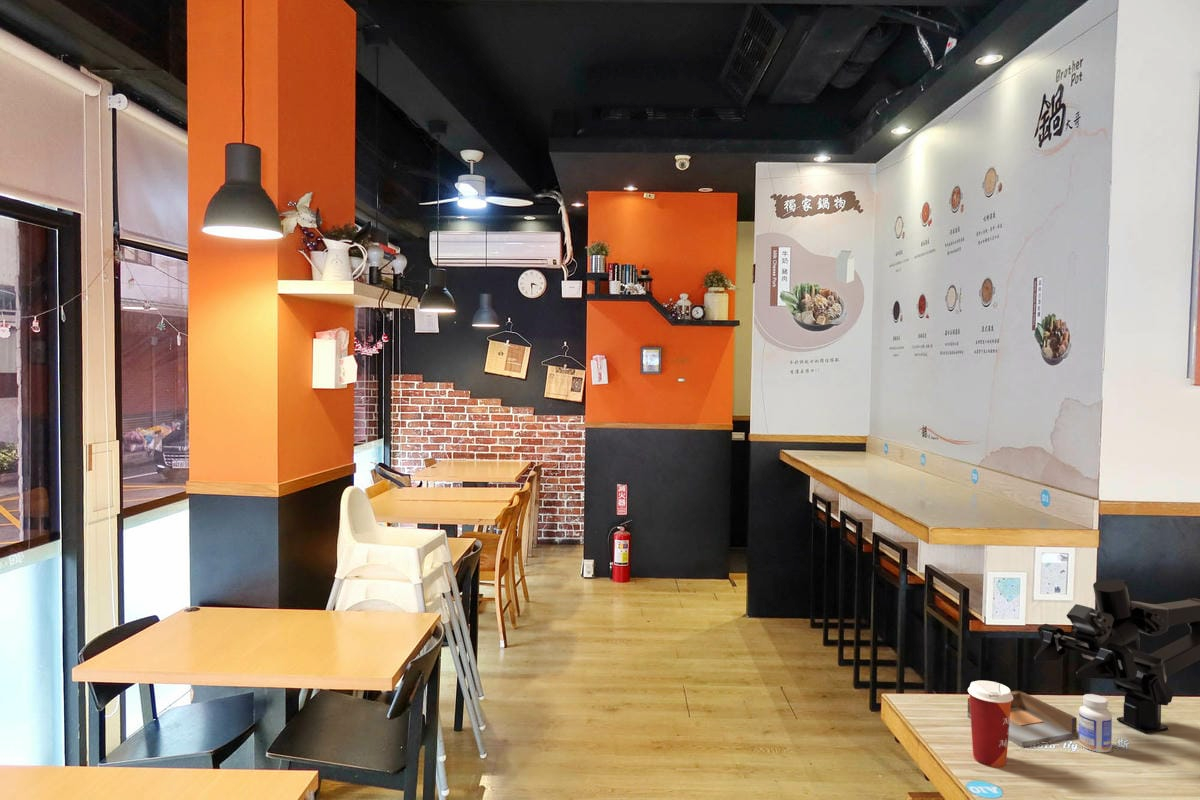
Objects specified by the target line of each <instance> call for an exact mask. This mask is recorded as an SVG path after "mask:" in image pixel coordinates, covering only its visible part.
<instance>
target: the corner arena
mask: <svg viewBox="0 0 1200 800" xmlns="http://www.w3.org/2000/svg"><path fill="white" fill-rule="evenodd" d="M1011 694H1012V696H1013V700H1012V701H1011V710H1010V723H1009V736H1008V741H1010V742H1012V743H1014V744H1015V743H1016V744H1015V745H1017V746H1019V745H1020V746H1019V747H1020V748H1024V747H1023V746H1026V747H1029V746H1028V745H1031V746H1034V744H1037V745H1039V744H1038V743H1042V742H1048V743H1050V742H1049V741H1053V742H1058V741H1057V740H1059V741H1064V740H1068V738H1070V739H1075V738H1077V733H1078V731H1077V729H1078V728H1077V727H1078V726H1077V723H1078V721H1077V720H1078V718H1077V717H1076V716H1074V715H1073V714H1070V713H1068V712H1066V711H1064V710H1061V709H1060V708H1057V707H1055V706H1053V705H1050V704H1049V703H1046V702H1045V701H1043V700H1040V699H1038V698H1036V697H1034V696H1032V695H1029V694H1027V693H1026V692H1023V691H1021V690H1014V691H1011ZM967 718H969V719H971V711H970V697H967ZM1074 737H1075V738H1074ZM1063 739H1064V740H1063ZM1042 744H1043V743H1042Z"/></svg>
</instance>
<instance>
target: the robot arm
mask: <svg viewBox="0 0 1200 800" xmlns="http://www.w3.org/2000/svg"><path fill="white" fill-rule="evenodd" d="M1092 588H1093V593H1094V596H1095V601H1096V607H1097V610H1096V609H1094V608H1093V607H1089V606H1085V605H1082V604H1077V603H1075V604H1074V605H1073V607H1072V608H1071V609H1070V610H1069V611H1068V613H1066V617H1067V619H1068V620H1070V622H1071V624H1072V625H1073V627H1074V628H1073V629H1071V631H1072V636H1074V637H1075V638H1074V637H1070V636H1066V635H1065V631H1064V629H1062V628H1061V627H1059V626H1055V625H1052V624H1048V623H1044V624H1042V625H1040V626H1039V627H1037V632H1038V635H1039V640H1040V644H1041V645H1040V647H1039V648H1038V650H1037V652H1036V653H1035V655H1034V657H1033V661H1034V663H1035V664H1039V663H1040V664H1041V663H1046V662H1047V663H1048V662H1053V661H1060V660H1061V658H1064V657H1066V656H1067V654H1068V652H1069V651H1072V652H1073V651H1074V652H1076V653H1078V654H1079V656H1080V659H1082V660H1086V661H1089V662H1087V663H1085V664H1084V665H1082V666H1081V667H1080V668H1079V669H1078V670H1076V671H1075V676H1076V678H1078V679H1100V680H1101V679H1103V680H1112V681H1113V685H1114V689H1115V690H1116V691H1120V692H1122V693H1125V694H1124V698H1123V699H1124V701H1123V712H1122V713H1123V716H1119V717H1116V720H1117V721H1118V722H1120V723H1123V724H1124V725H1126V726H1129V727H1130V728H1133V729H1135V730H1136V731H1137V730H1138V731H1140V732H1142V733H1144V734H1152V733H1157V732H1162V731H1166V730H1169V726H1167V725H1166V724H1163V723H1162V706H1168V705H1169V704H1170V703H1171V702H1172V701H1173V696H1174V691H1173V689H1171V687H1169V685H1168V684H1167V678H1168V677H1169V676H1172V675H1173V674H1175V673H1176V672H1177V673H1178V672H1179V671H1180V670H1182V669H1184V668H1186V667H1188V666H1190V665H1192V664H1194V663H1195V662H1198V661H1199V660H1200V599H1198V598H1194V597H1191V598H1189V597H1188V598H1186V599H1183V600H1178V601H1171V602H1170V601H1169V602H1162V603H1156V604H1154V603H1146V602H1142V601H1135V600H1134V601H1133V600H1131V597H1130V591H1129V582H1128V580H1124V579H1121V578H1116V579H1105V580H1097V581H1096V582H1094V583H1093V585H1092ZM1184 624H1187V626H1188V627H1189V629H1190V633H1188V634H1186V635H1185V636H1183V637H1181V638H1179V639H1176V640H1175V641H1173V642H1171V643H1169V644H1167V645H1165V646H1163V647H1161V648H1159V649H1157V650H1156V651H1153V652H1151V653H1145V652H1142V651H1140V648H1141V643H1140V640H1141V637H1140V633H1142V634H1145V635H1147V636H1151V637H1157V636H1160V635H1162V634H1165V633H1167V632H1168V629H1169V627H1172V626H1177V625H1178V626H1179V625H1184Z"/></svg>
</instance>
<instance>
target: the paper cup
mask: <svg viewBox="0 0 1200 800" xmlns="http://www.w3.org/2000/svg"><path fill="white" fill-rule="evenodd" d="M967 692H968V693H969V698H970V711H971V718H970V728H971V745H972V756H973V759H974V760H975V761H976V762H977V763H978V764H981V765H983V766H986V767H990V768H1002V767H1004V766H1006V764H1007V756H1008V745H1009V740H1008V736H1009V723H1010V710H1011V701H1012V700H1013V696H1012V694H1011V692H1012V691H1011V689H1010V688H1009V687H1008V686H1006V685H1004V684H1002V683H999V682H997V681H992V680H991V681H990V680H982V679H981V680H975V681H974V680H973V681H971V682H970V685H969V687H968V688H967Z"/></svg>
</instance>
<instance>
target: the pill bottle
mask: <svg viewBox="0 0 1200 800" xmlns="http://www.w3.org/2000/svg"><path fill="white" fill-rule="evenodd" d="M1082 702H1083V704H1081V706H1079V709H1078V744H1079V745H1080V746H1081V747H1083V748H1085V749H1086V750H1088V749H1089V751H1091V750H1092V752H1095V751H1096V752H1097V753H1102V752H1103V754H1104V752H1105V753H1109V752H1111V750H1112V745H1113V743H1112V740H1113V739H1112V738H1113V735H1112V732H1113V731H1112V730H1113V728H1112V726H1113V724H1112V723H1113V722H1112V721H1113V719H1112V717H1113V716H1112V713H1111V711H1110V710H1109V709H1107V708H1108V704H1109V703H1108V699H1107V698H1105V697H1103V696H1101V695H1098V694H1093V693H1086V694H1084V695H1083V696H1082ZM1096 752H1095V753H1096Z"/></svg>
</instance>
